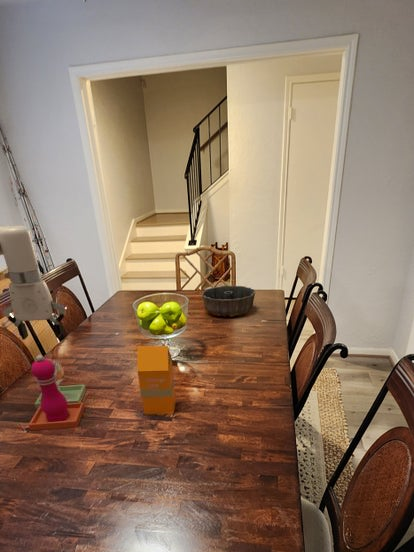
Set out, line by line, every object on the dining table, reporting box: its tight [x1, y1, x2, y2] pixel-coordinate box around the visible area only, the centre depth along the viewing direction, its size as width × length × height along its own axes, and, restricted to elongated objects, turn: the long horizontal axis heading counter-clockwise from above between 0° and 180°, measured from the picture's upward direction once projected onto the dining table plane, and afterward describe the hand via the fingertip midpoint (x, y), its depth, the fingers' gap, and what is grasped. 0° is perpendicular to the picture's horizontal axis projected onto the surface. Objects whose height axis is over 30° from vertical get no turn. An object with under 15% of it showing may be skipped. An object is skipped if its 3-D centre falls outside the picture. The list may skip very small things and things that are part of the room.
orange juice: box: [136, 345, 177, 415], centre depth 107 cm, size 8×9×20 cm
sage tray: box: [34, 384, 87, 410], centre depth 119 cm, size 13×10×2 cm
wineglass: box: [50, 360, 69, 399], centre depth 116 cm, size 6×6×12 cm
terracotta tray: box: [28, 401, 86, 431], centre depth 109 cm, size 13×10×2 cm
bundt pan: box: [201, 285, 256, 318], centre depth 183 cm, size 26×26×10 cm
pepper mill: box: [30, 354, 69, 422], centre depth 104 cm, size 7×7×20 cm
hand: (42, 337), depth 108 cm, fingers open, 9 cm apart
